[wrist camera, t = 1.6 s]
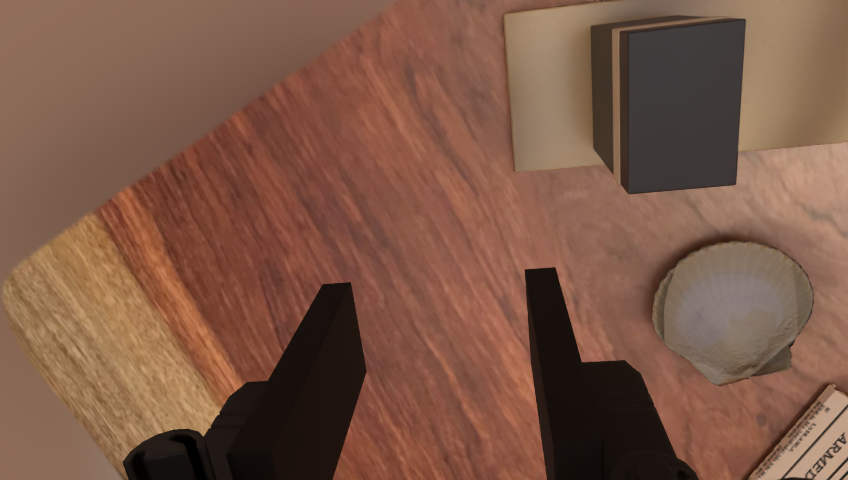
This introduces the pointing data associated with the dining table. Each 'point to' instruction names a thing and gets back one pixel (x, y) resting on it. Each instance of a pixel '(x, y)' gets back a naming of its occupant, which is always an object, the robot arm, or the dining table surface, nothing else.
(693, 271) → the seashell
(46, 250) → the dining table surface
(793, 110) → the rail
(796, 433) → the newspaper
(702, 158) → the dark grey lidded box
